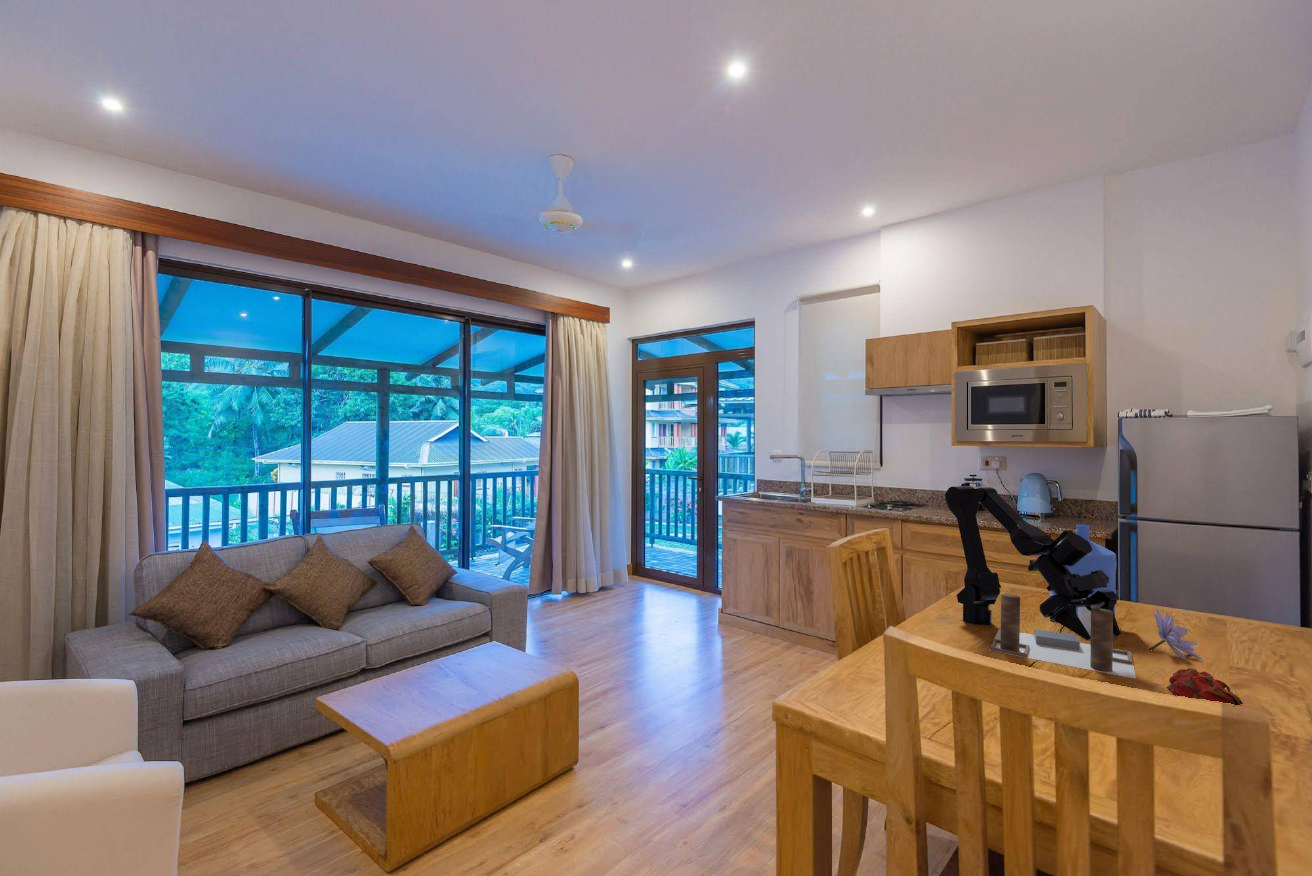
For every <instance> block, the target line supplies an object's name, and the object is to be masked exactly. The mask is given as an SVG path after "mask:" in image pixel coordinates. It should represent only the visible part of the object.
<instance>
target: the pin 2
mask: <svg viewBox="0 0 1312 876" xmlns="http://www.w3.org/2000/svg"><path fill="white" fill-rule="evenodd" d="M1090 637H1091V639H1090V645H1091V656H1090V667H1091V668H1093V669H1095V670H1098V671H1103V672H1111V671H1112V665H1113V649H1114V645H1113V644H1114V643H1113V642H1114V634H1113V612H1112V611H1110V610H1106V609H1100V608H1092V609H1091V636H1090ZM1098 671H1097V672H1098ZM1103 672H1102V673H1103Z"/></svg>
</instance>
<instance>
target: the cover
mask: <svg viewBox="0 0 1312 876" xmlns="http://www.w3.org/2000/svg"><path fill="white" fill-rule="evenodd" d="M1033 635H1034V639H1035V642H1036V644H1041V645H1048V646H1055V647H1062V648H1069V649H1075V650H1080V643H1081V641H1080V640H1079V638H1078V636H1077V634H1074V633H1066V632H1058V631H1052V630H1043V629H1036V628H1034V629H1033Z"/></svg>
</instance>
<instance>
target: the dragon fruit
mask: <svg viewBox="0 0 1312 876" xmlns="http://www.w3.org/2000/svg"><path fill="white" fill-rule="evenodd" d="M1166 689H1167V690H1168V692H1170V693H1171V694H1172V695H1173V696H1175V695H1177V696H1185V697H1188V698H1196V699H1206V700H1210V701H1219V702H1223V703H1231V704H1234V706H1237V705H1240V706H1242V705H1244V703H1243V701H1242V699H1241V698H1240V697H1239V696H1238V695H1236V694H1235V693H1233V692H1232V691H1231V687H1229V686H1228V685H1227V684H1226V683H1225V682H1224V681H1222V680H1219V679H1216V678H1215V679H1214V676H1213V675H1212V674H1210V673H1208V672H1207V671H1201V672H1199V671H1198V670H1197V669H1196V668H1192V667H1188V668H1186V669H1185V668H1180V669H1178V670H1177V671H1176V672H1174V673H1173V674H1172V675H1171V676H1170V677H1169V685H1168V686H1166ZM1177 696H1176V697H1177Z"/></svg>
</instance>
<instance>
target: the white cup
mask: <svg viewBox="0 0 1312 876" xmlns="http://www.w3.org/2000/svg"><path fill="white" fill-rule="evenodd" d="M1077 610H1078V618H1079V619H1080V621H1081V622H1082V624H1083V625H1084V627H1085V628H1086V630H1087V631H1088V633H1089V635H1090V637H1091V611H1089V610H1088V609H1087V608H1086V607H1077Z"/></svg>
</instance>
